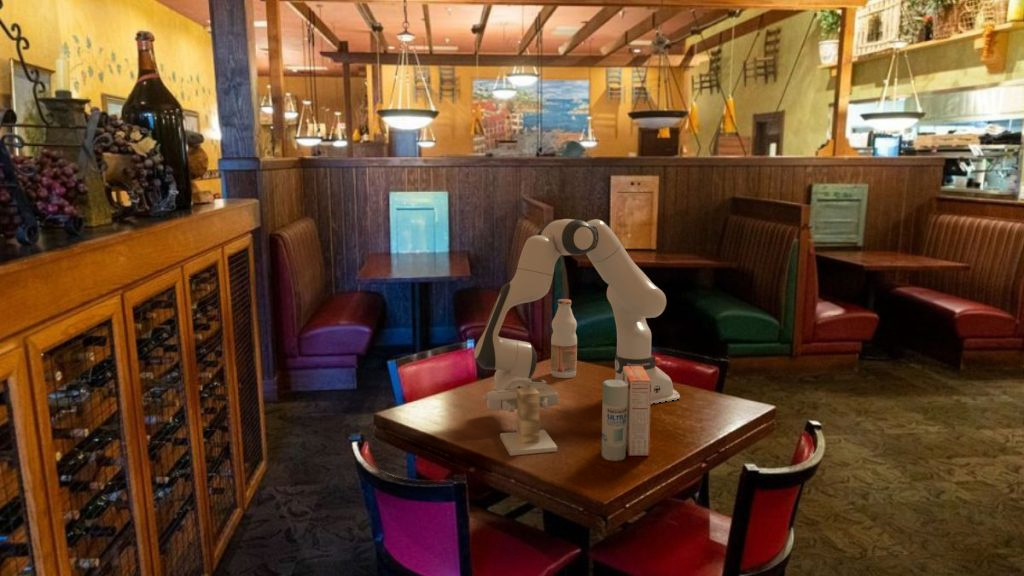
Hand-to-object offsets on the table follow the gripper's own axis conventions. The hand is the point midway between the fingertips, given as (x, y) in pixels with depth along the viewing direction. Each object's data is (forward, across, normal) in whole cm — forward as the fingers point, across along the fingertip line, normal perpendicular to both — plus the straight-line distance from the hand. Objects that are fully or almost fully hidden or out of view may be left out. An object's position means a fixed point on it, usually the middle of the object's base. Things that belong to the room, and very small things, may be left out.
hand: (528, 407), depth 192 cm
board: (0, 0, +10) cm, 11 cm away
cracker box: (+8, +28, +11) cm, 31 cm away
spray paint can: (+13, +20, +11) cm, 26 cm away
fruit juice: (-61, +29, +11) cm, 68 cm away
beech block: (0, 0, +9) cm, 9 cm away
